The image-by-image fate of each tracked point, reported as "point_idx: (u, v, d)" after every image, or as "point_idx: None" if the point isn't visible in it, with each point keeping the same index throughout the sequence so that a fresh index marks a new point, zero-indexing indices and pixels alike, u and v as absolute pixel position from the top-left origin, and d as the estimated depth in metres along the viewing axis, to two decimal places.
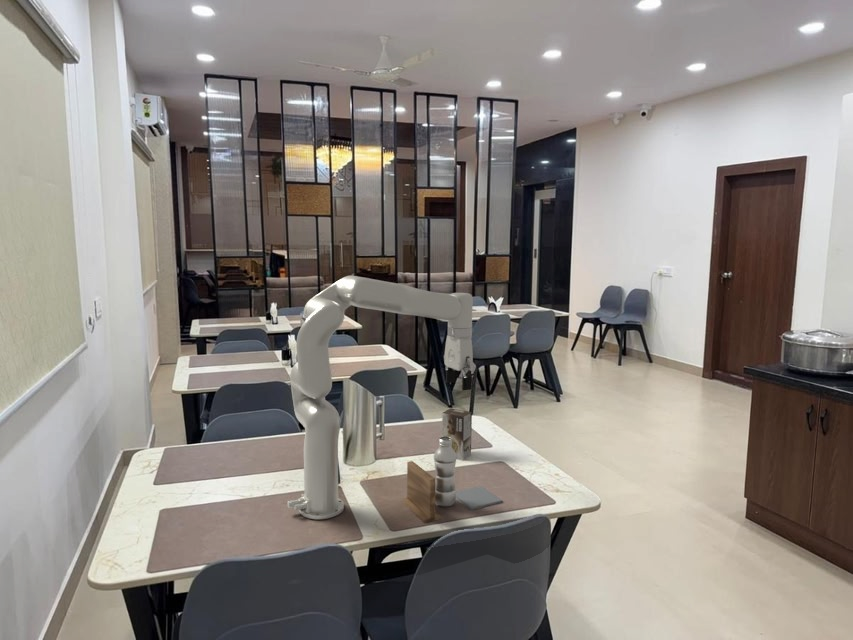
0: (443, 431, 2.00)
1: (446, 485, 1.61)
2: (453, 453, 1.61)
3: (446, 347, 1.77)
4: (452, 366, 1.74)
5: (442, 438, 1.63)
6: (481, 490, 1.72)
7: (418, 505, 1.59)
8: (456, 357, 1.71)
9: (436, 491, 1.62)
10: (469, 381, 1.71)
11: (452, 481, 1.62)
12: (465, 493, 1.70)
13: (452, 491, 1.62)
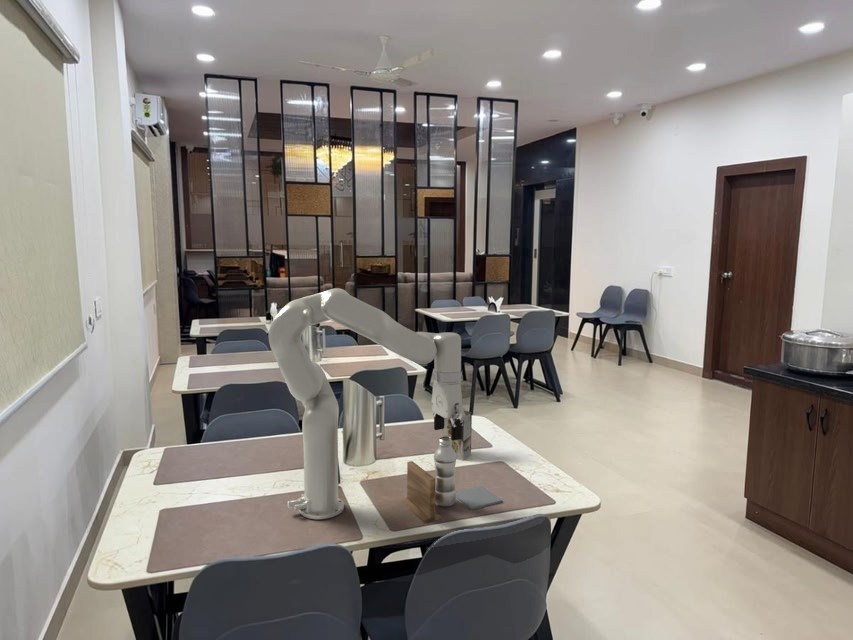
0: (443, 431, 2.00)
1: (446, 485, 1.61)
2: (453, 453, 1.61)
3: (433, 392, 1.61)
4: (440, 413, 1.58)
5: (442, 438, 1.63)
6: (481, 490, 1.72)
7: (418, 505, 1.59)
8: (444, 404, 1.56)
9: (436, 491, 1.62)
10: (459, 430, 1.56)
11: (452, 481, 1.62)
12: (465, 493, 1.70)
13: (452, 491, 1.62)
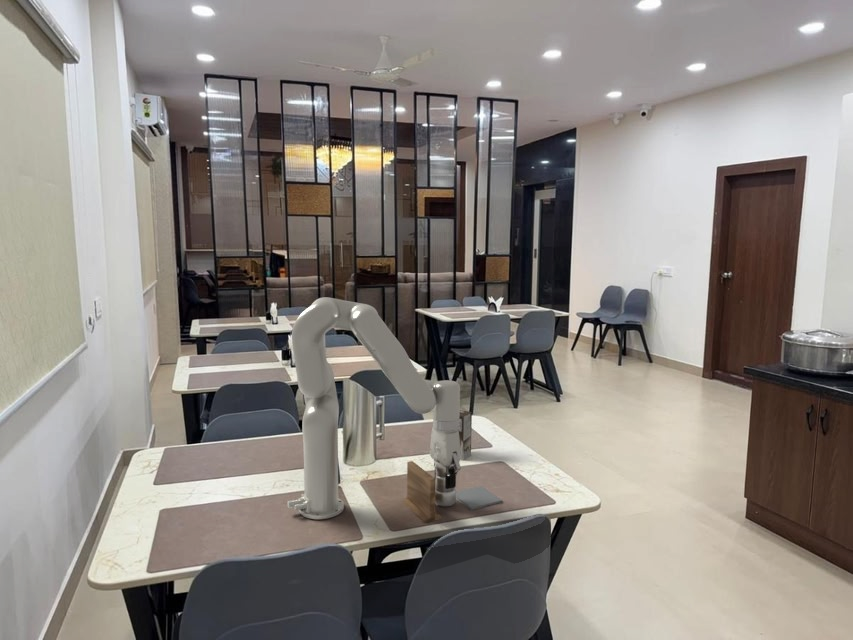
0: None
1: None
2: None
3: (432, 438, 1.63)
4: None
5: None
6: (481, 490, 1.72)
7: (418, 505, 1.59)
8: (442, 452, 1.58)
9: (436, 491, 1.62)
10: (453, 479, 1.60)
11: None
12: (465, 493, 1.70)
13: (452, 491, 1.62)
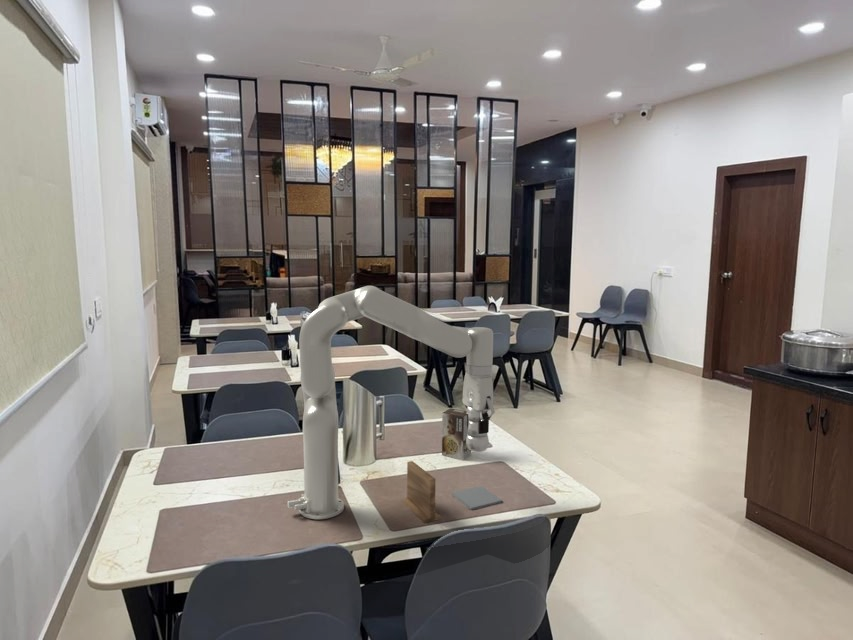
0: (443, 431, 2.00)
1: None
2: None
3: (464, 385, 1.65)
4: None
5: None
6: (481, 490, 1.72)
7: (418, 505, 1.59)
8: (476, 397, 1.60)
9: (469, 437, 1.64)
10: (486, 424, 1.61)
11: None
12: (465, 493, 1.70)
13: (485, 436, 1.64)
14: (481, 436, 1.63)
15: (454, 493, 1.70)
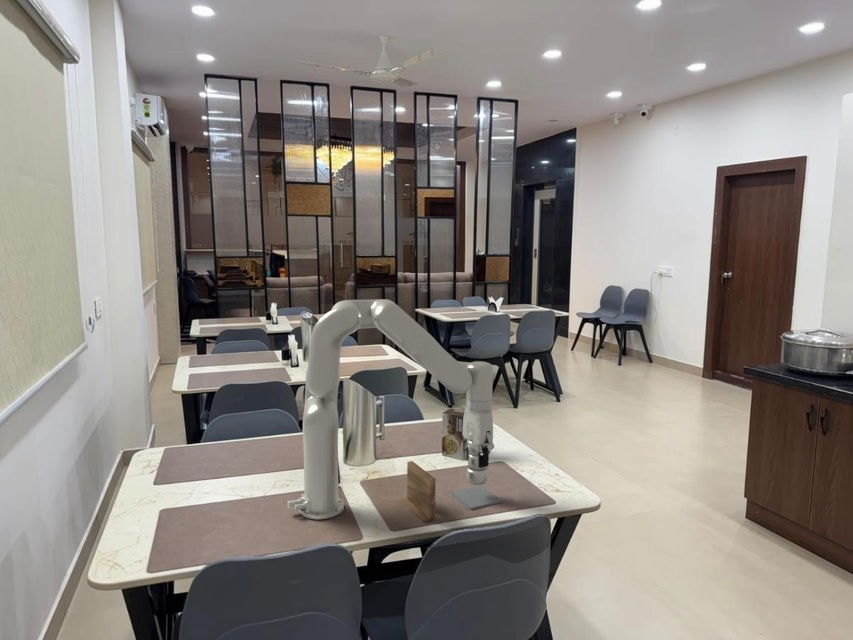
0: (443, 431, 2.00)
1: None
2: None
3: (464, 418, 1.67)
4: None
5: None
6: (481, 490, 1.72)
7: (418, 505, 1.59)
8: (476, 431, 1.61)
9: (469, 470, 1.65)
10: (486, 458, 1.63)
11: None
12: (465, 493, 1.70)
13: (485, 470, 1.65)
14: (481, 470, 1.64)
15: (454, 493, 1.70)
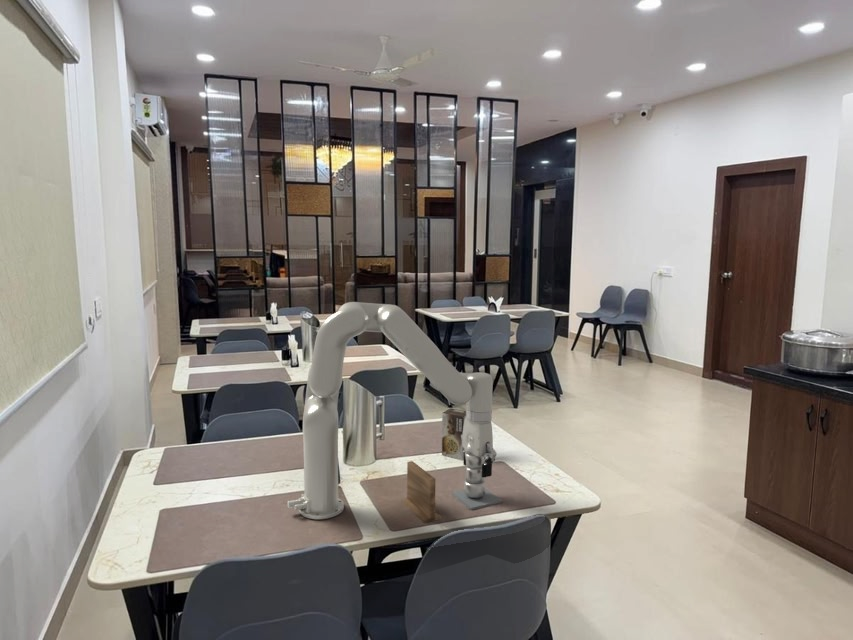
0: (443, 431, 2.00)
1: (477, 477, 1.65)
2: None
3: (464, 429, 1.67)
4: None
5: None
6: None
7: (418, 505, 1.59)
8: (475, 442, 1.62)
9: (467, 483, 1.66)
10: (489, 468, 1.62)
11: None
12: None
13: (482, 483, 1.66)
14: (478, 483, 1.65)
15: (454, 493, 1.70)
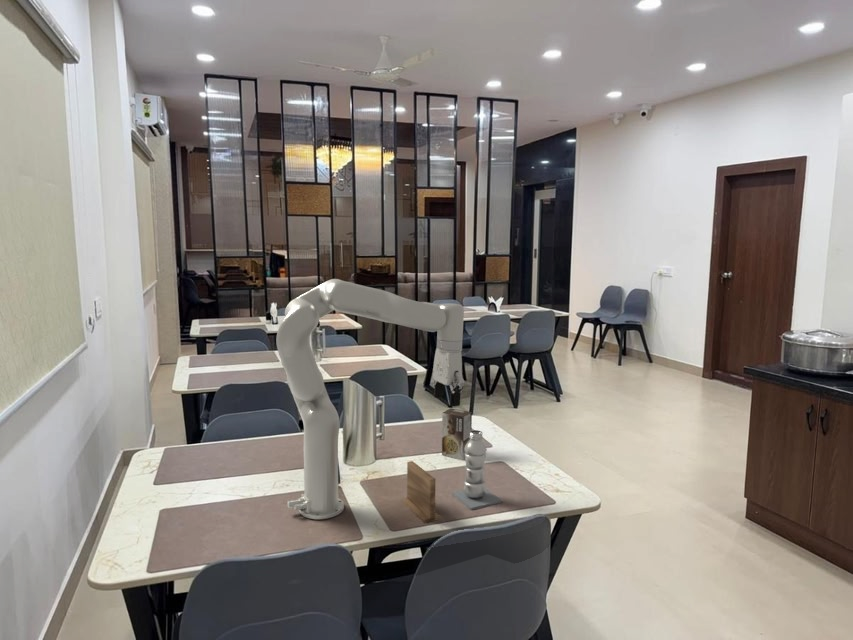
0: (443, 431, 2.00)
1: (477, 477, 1.65)
2: (483, 446, 1.65)
3: (435, 360, 1.68)
4: (440, 380, 1.65)
5: (472, 432, 1.67)
6: None
7: (418, 505, 1.59)
8: (444, 371, 1.63)
9: (467, 483, 1.66)
10: (457, 397, 1.63)
11: (482, 473, 1.66)
12: None
13: (482, 483, 1.66)
14: (478, 483, 1.65)
15: (454, 493, 1.70)
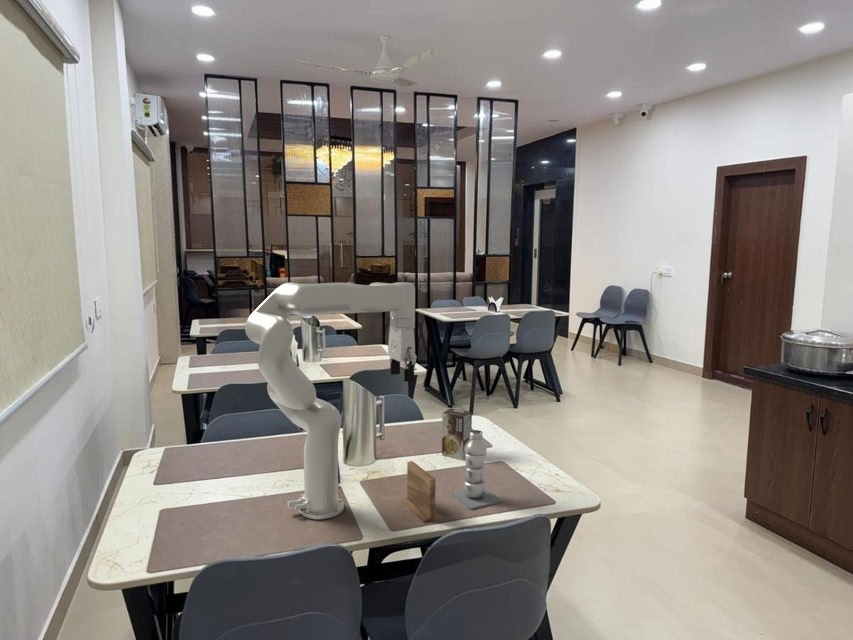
0: (443, 431, 2.00)
1: (477, 477, 1.65)
2: (483, 446, 1.65)
3: (389, 338, 1.74)
4: (394, 357, 1.71)
5: (472, 431, 1.67)
6: None
7: (418, 505, 1.59)
8: (398, 348, 1.68)
9: (467, 483, 1.66)
10: (411, 372, 1.68)
11: (482, 473, 1.66)
12: None
13: (482, 483, 1.66)
14: (478, 483, 1.65)
15: (454, 493, 1.70)
